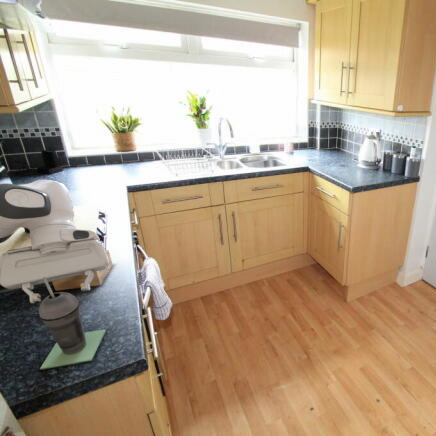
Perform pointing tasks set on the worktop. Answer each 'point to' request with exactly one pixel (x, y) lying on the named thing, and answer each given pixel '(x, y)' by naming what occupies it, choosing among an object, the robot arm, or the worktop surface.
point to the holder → (82, 278)
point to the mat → (86, 354)
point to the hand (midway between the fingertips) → (61, 296)
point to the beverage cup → (63, 320)
